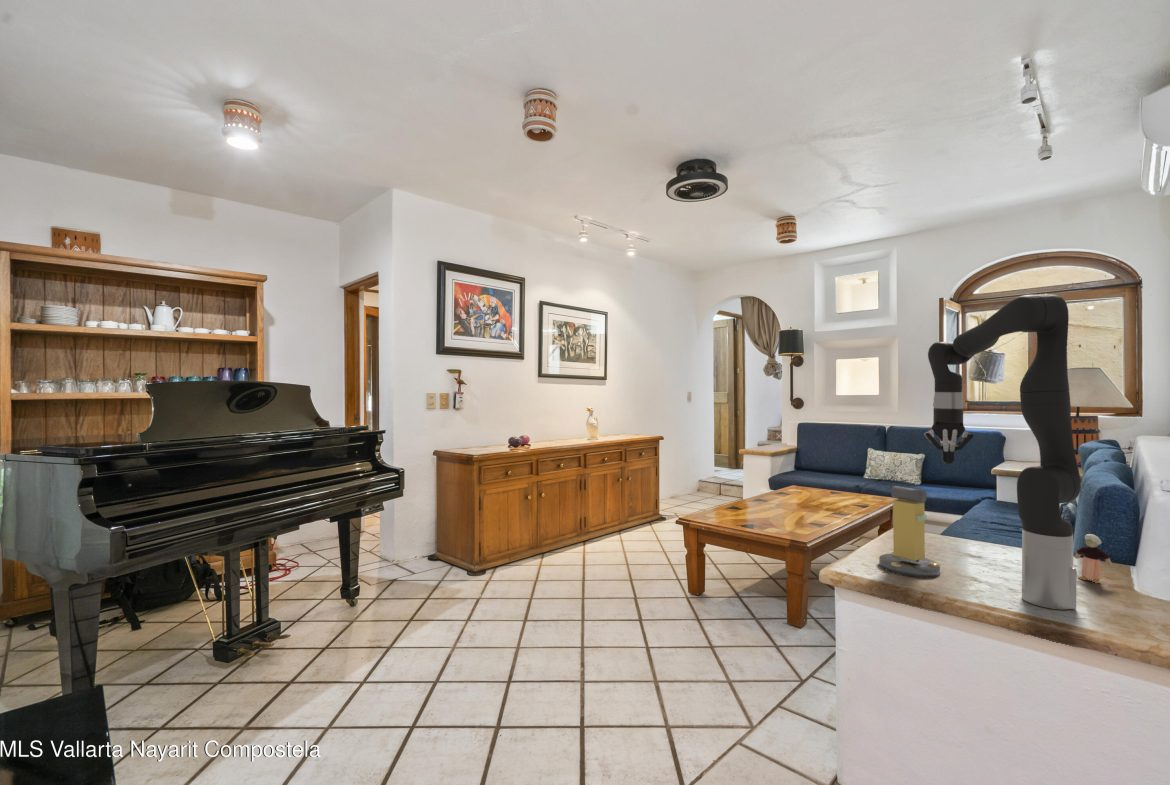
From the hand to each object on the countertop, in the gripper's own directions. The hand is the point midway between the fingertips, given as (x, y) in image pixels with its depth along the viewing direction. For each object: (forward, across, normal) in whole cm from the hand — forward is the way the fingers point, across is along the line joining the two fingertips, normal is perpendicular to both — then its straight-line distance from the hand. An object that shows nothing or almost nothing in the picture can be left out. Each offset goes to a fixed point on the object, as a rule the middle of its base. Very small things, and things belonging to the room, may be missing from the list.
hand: (947, 463), depth 162 cm
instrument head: (+26, -13, -15) cm, 32 cm away
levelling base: (+29, -13, -15) cm, 35 cm away
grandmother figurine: (+29, +31, -9) cm, 44 cm away
